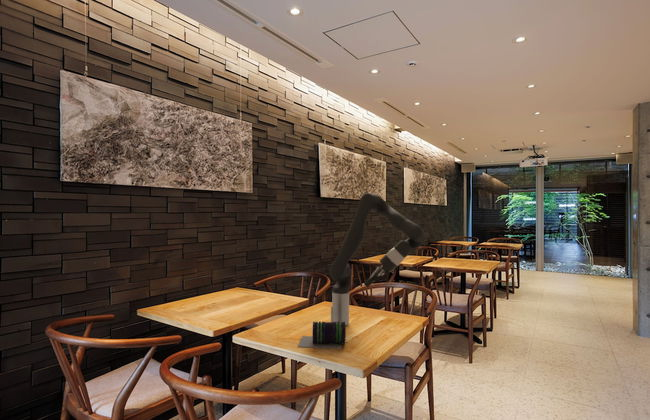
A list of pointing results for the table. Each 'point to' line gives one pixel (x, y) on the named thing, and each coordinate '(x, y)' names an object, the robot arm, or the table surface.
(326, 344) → the mat
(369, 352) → the table surface
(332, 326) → the dark ribbed cylinder
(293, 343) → the table surface
